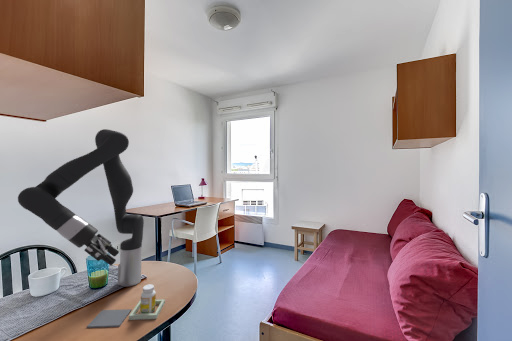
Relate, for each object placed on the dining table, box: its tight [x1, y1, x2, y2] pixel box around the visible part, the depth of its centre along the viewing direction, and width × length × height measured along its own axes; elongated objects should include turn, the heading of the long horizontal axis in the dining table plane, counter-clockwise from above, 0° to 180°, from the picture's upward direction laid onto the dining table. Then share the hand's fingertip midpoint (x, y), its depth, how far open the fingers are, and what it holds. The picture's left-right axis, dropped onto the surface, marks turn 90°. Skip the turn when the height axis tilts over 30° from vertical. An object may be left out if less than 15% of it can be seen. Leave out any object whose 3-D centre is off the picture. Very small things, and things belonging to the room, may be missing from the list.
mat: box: [86, 308, 132, 329], centre depth 83 cm, size 11×9×1 cm
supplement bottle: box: [139, 283, 157, 314], centre depth 88 cm, size 5×5×10 cm
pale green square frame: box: [128, 298, 166, 321], centre depth 88 cm, size 10×10×2 cm
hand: (115, 258), depth 83 cm, fingers open, 8 cm apart
